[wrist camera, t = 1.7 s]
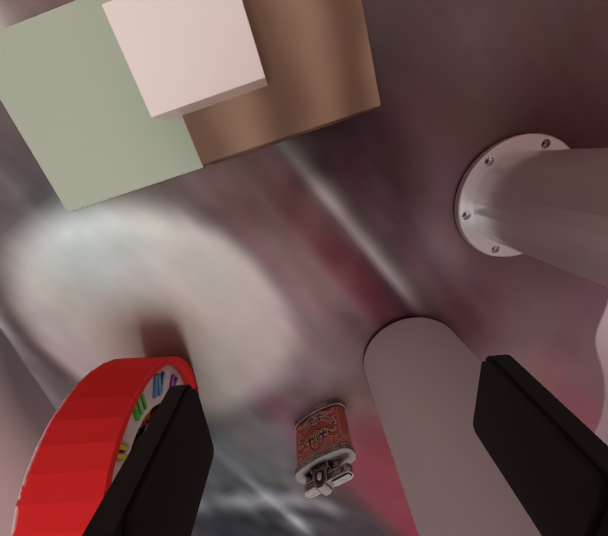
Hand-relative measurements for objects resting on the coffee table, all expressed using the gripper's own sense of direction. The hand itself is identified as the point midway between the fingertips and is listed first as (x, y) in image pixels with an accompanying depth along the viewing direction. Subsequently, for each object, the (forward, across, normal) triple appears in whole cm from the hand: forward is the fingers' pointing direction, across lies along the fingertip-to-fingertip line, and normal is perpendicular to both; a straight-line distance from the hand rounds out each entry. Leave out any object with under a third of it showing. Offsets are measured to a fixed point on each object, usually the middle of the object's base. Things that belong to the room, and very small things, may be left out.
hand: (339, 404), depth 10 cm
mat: (+24, +19, -14) cm, 33 cm away
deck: (+24, +3, -17) cm, 29 cm away
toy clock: (+24, +20, +19) cm, 36 cm away
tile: (+18, +8, -16) cm, 26 cm away
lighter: (+24, +1, +27) cm, 36 cm away
